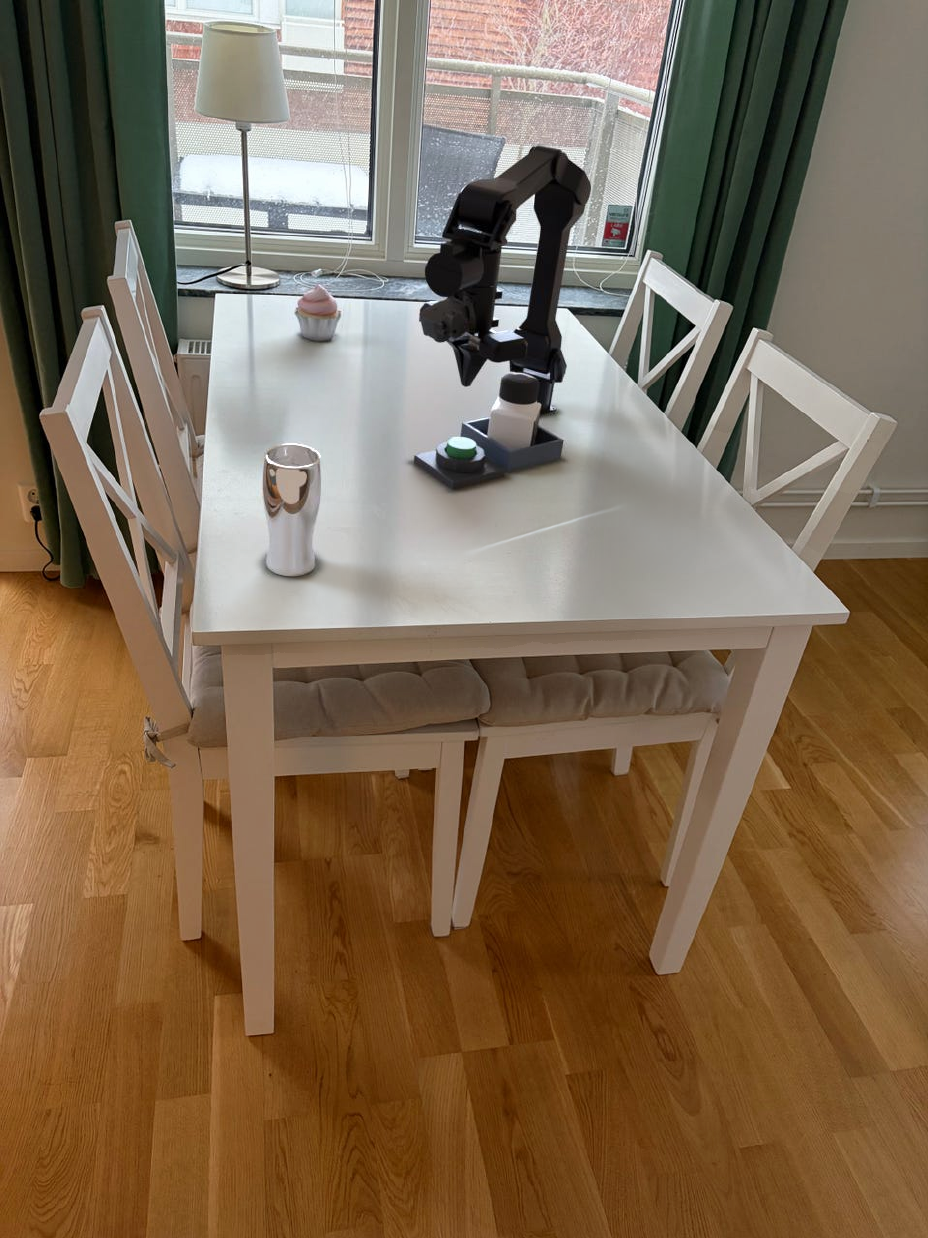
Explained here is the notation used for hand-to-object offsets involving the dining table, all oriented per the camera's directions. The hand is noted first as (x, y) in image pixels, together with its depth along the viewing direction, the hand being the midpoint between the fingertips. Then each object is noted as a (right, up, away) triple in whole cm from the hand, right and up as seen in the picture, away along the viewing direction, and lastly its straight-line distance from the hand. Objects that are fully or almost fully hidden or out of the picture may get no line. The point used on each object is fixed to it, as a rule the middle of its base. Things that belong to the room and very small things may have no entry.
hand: (465, 385), depth 150 cm
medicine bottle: (+7, -8, +11) cm, 15 cm away
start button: (-1, -10, +2) cm, 10 cm away
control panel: (-1, -12, +3) cm, 13 cm away
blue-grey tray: (+7, -8, +11) cm, 15 cm away
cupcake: (-29, +20, +45) cm, 57 cm away
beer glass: (-22, -28, -24) cm, 43 cm away
